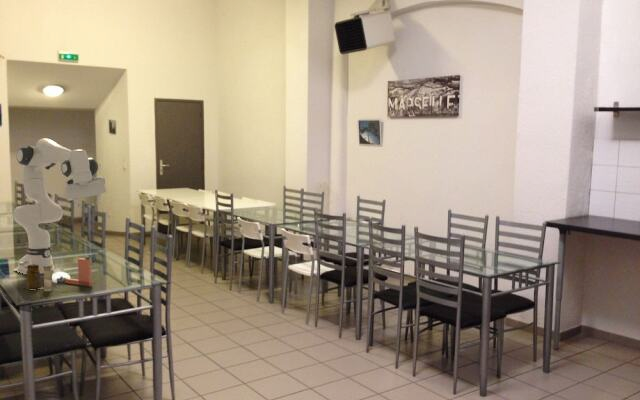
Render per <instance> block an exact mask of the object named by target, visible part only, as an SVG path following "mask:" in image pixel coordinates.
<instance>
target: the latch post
mask: <svg viewBox="0 0 640 400" xmlns="http://www.w3.org/2000/svg"><path fill="white" fill-rule="evenodd" d="M52 266H54V264H53V265H44V266H43V268H44V273H43V281H44V282H43V283H44V286H43V288H44V289H43V290H44V292H51V291H53V271H52Z"/></svg>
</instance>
